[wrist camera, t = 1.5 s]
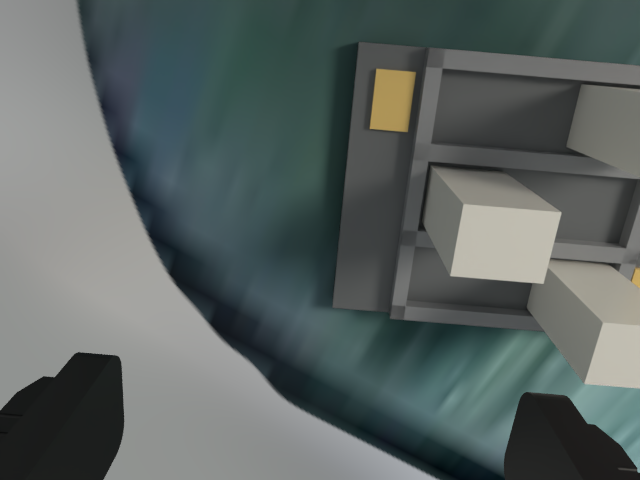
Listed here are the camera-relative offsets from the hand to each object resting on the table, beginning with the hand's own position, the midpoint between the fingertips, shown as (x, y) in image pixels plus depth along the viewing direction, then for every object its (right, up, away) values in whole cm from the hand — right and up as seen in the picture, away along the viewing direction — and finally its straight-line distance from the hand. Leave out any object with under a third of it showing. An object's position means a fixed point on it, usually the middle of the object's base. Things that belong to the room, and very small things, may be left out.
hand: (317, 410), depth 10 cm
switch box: (+11, +6, +19) cm, 23 cm away
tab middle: (+8, +6, +18) cm, 21 cm away
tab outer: (+14, +1, +20) cm, 25 cm away
